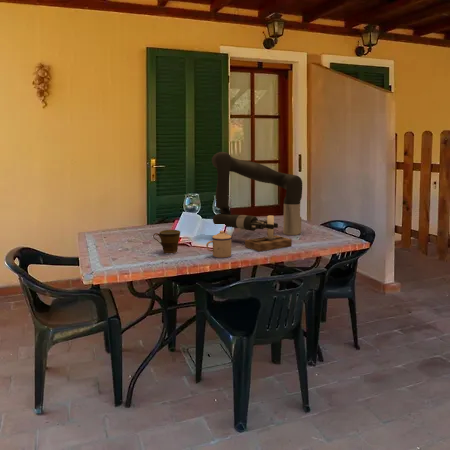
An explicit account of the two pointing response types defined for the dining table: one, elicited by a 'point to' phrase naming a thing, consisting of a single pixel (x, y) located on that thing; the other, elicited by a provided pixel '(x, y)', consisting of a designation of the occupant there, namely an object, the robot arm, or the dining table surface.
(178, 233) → the ceramic cup
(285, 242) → the wooden tray
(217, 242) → the teacup with lid
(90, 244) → the dining table surface
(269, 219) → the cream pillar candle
